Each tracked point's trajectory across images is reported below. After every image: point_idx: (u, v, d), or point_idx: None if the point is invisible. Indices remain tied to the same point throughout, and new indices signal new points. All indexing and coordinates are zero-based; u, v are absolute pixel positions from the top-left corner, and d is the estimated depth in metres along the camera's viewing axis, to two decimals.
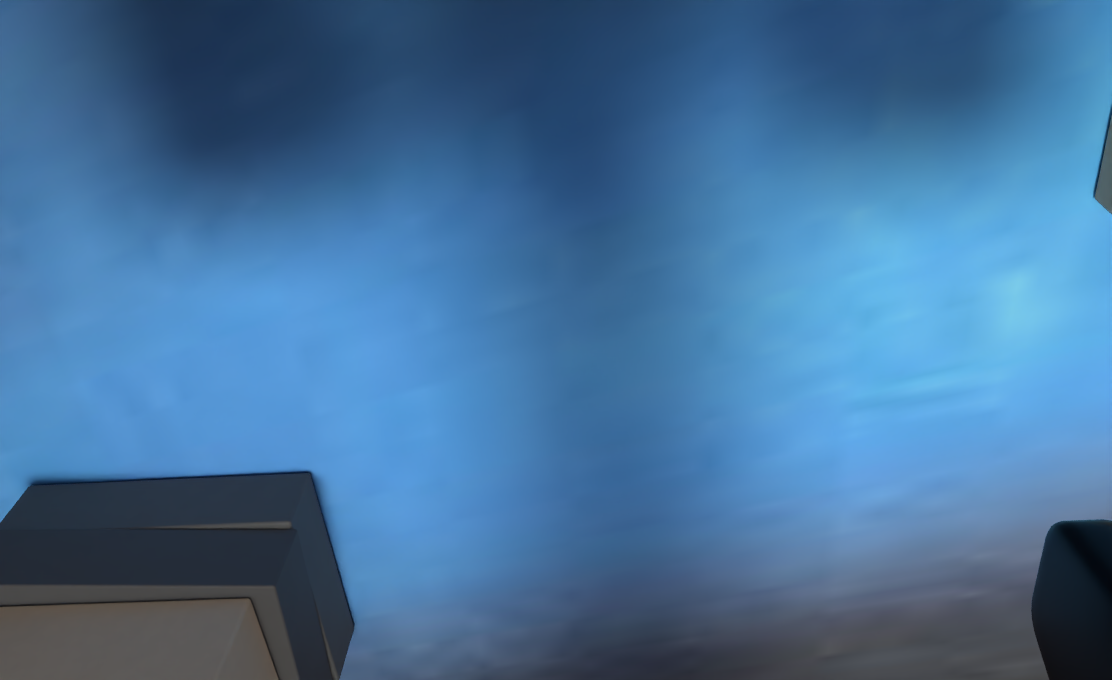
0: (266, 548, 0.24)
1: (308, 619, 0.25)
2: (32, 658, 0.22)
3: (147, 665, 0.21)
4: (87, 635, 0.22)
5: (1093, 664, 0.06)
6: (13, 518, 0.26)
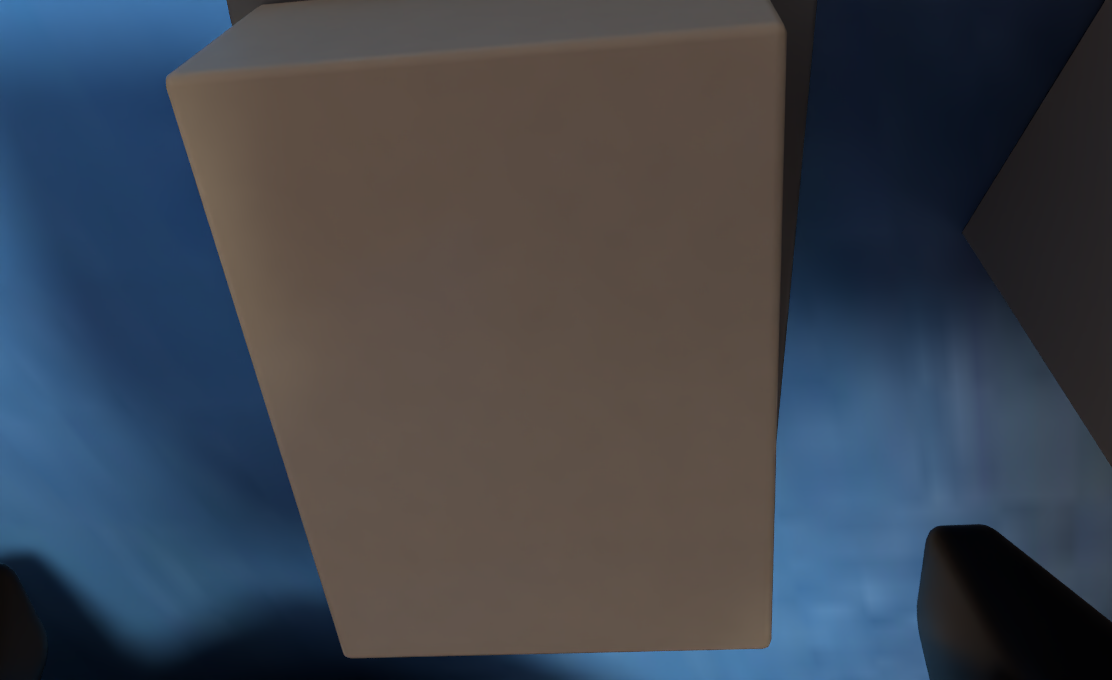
0: None
1: None
2: None
3: None
4: None
5: (960, 667, 0.07)
6: None
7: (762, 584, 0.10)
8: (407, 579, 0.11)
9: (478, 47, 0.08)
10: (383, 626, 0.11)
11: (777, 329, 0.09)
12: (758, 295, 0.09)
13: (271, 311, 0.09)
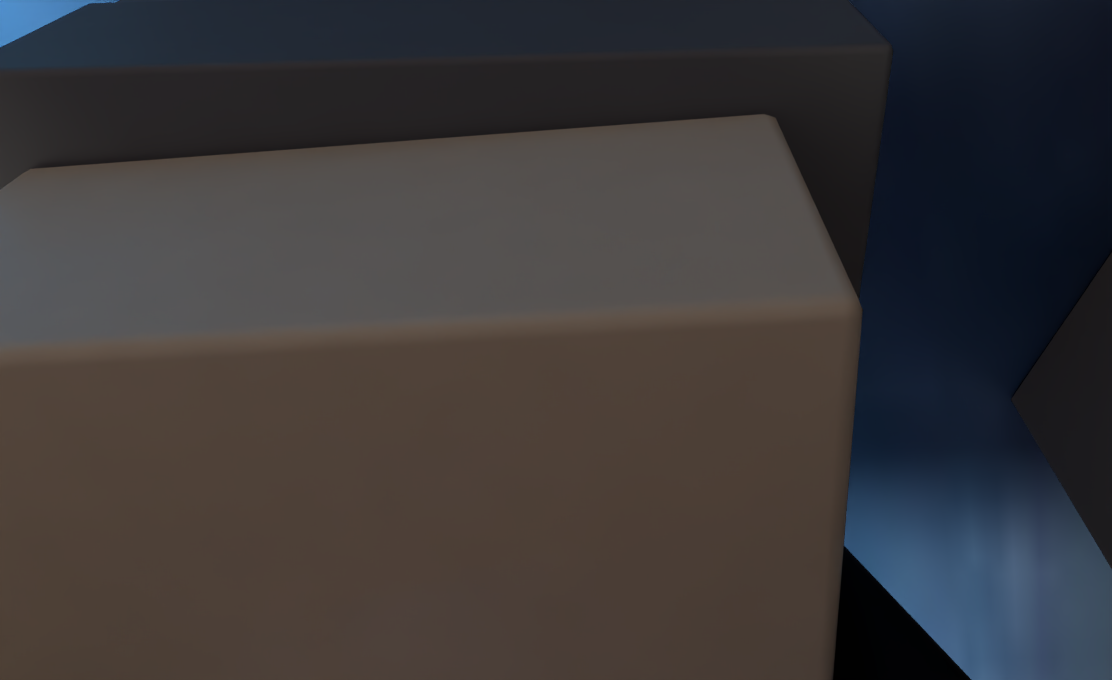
0: None
1: (380, 10, 0.07)
2: None
3: None
4: None
5: None
6: None
7: None
8: None
9: (306, 326, 0.04)
10: None
11: None
12: None
13: None
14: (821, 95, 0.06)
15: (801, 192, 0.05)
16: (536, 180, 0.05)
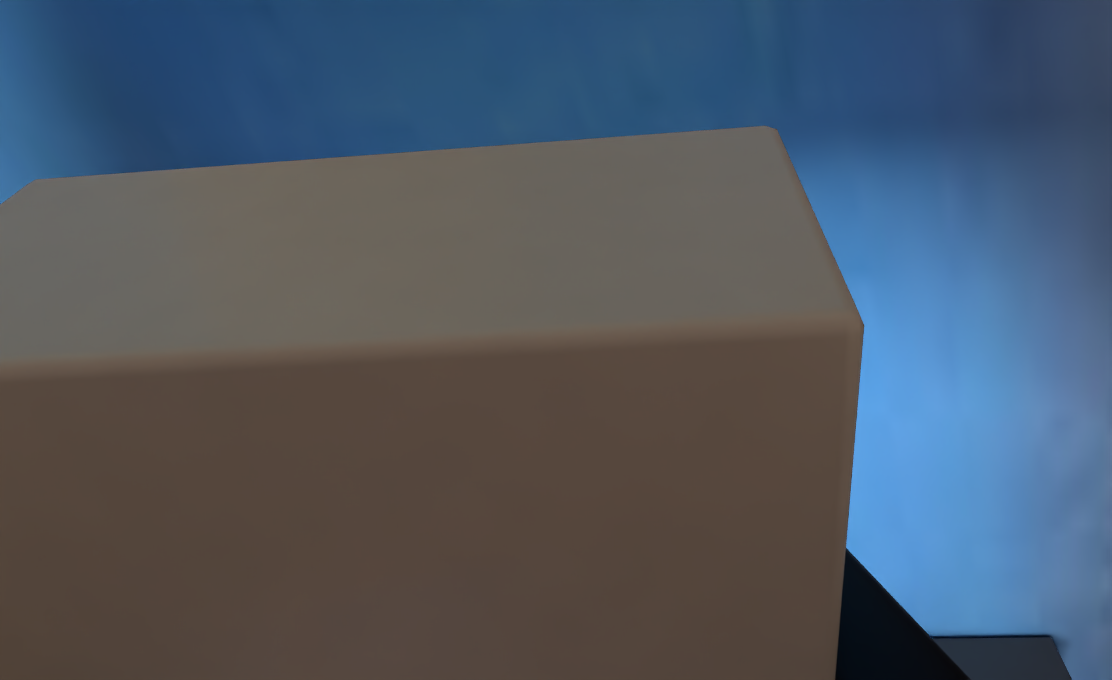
0: None
1: None
2: None
3: None
4: None
5: None
6: None
7: None
8: None
9: (313, 342, 0.04)
10: None
11: None
12: None
13: None
14: None
15: (803, 206, 0.05)
16: (538, 193, 0.05)
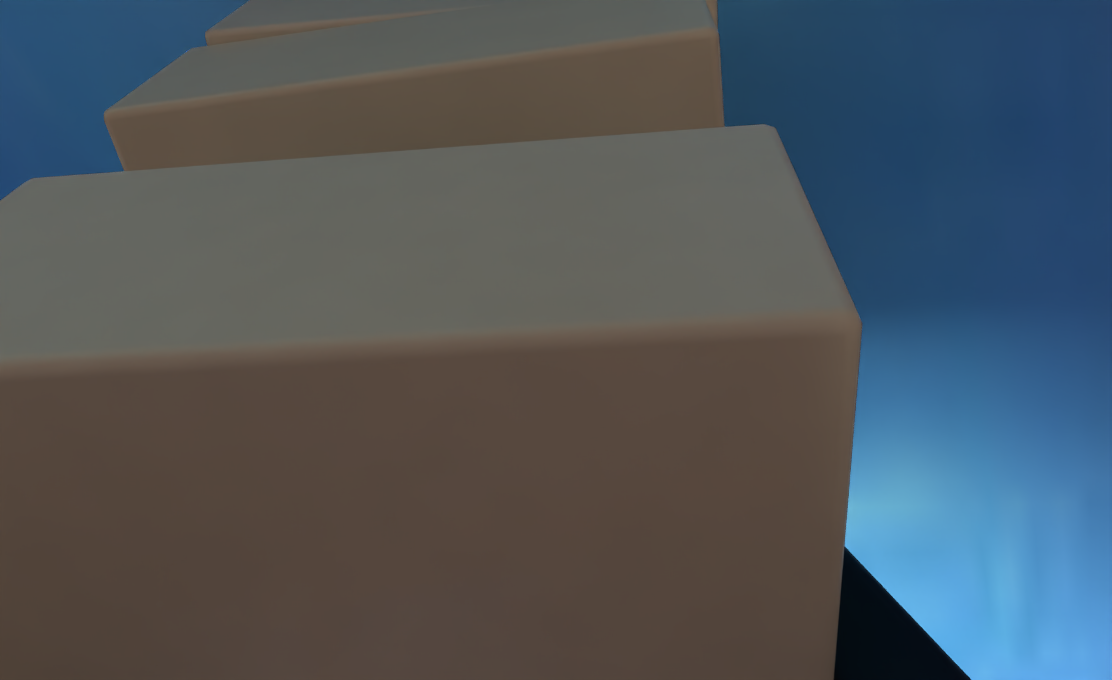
0: None
1: None
2: None
3: None
4: None
5: None
6: None
7: None
8: None
9: (309, 340, 0.04)
10: None
11: None
12: None
13: None
14: None
15: (801, 204, 0.05)
16: (536, 191, 0.05)
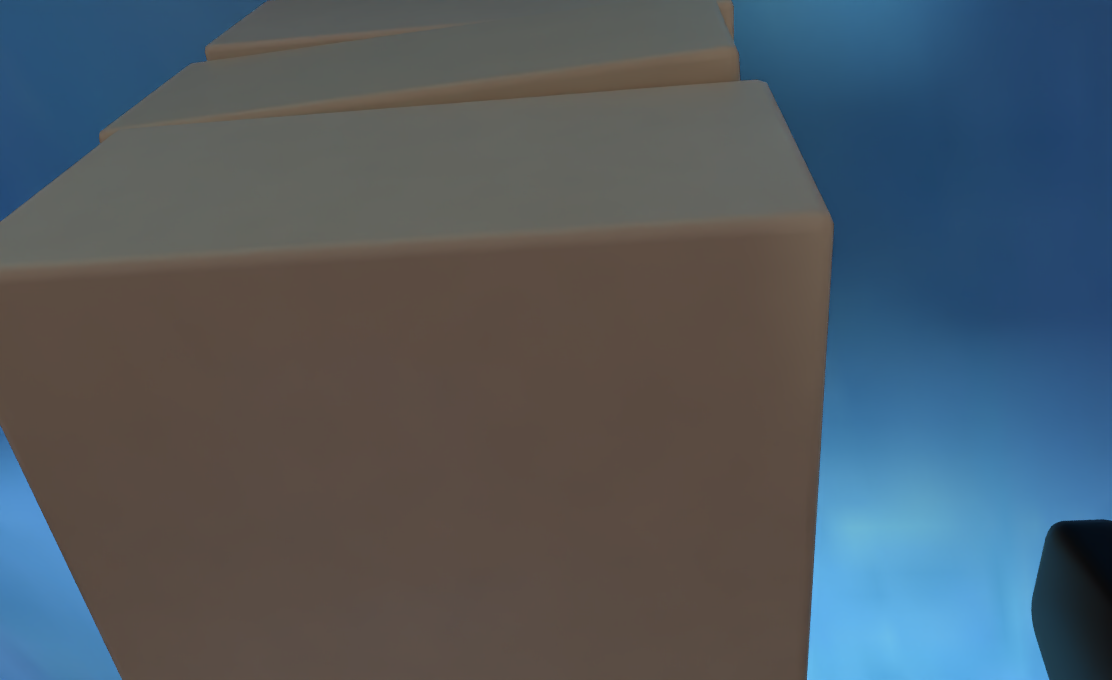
0: None
1: None
2: None
3: None
4: None
5: (1093, 664, 0.06)
6: None
7: None
8: None
9: (383, 239, 0.05)
10: None
11: (809, 594, 0.06)
12: (785, 556, 0.06)
13: (114, 565, 0.06)
14: None
15: (787, 138, 0.06)
16: (563, 133, 0.06)
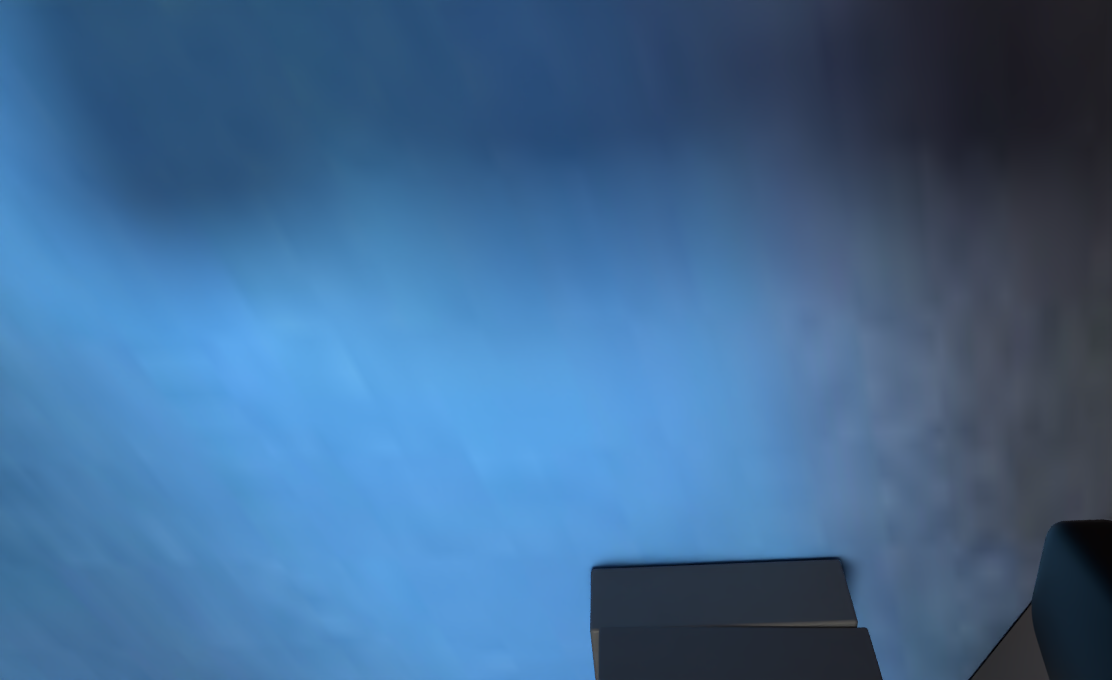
0: None
1: (715, 648, 0.21)
2: None
3: None
4: None
5: (1093, 663, 0.06)
6: None
7: None
8: None
9: None
10: None
11: None
12: None
13: None
14: None
15: None
16: None
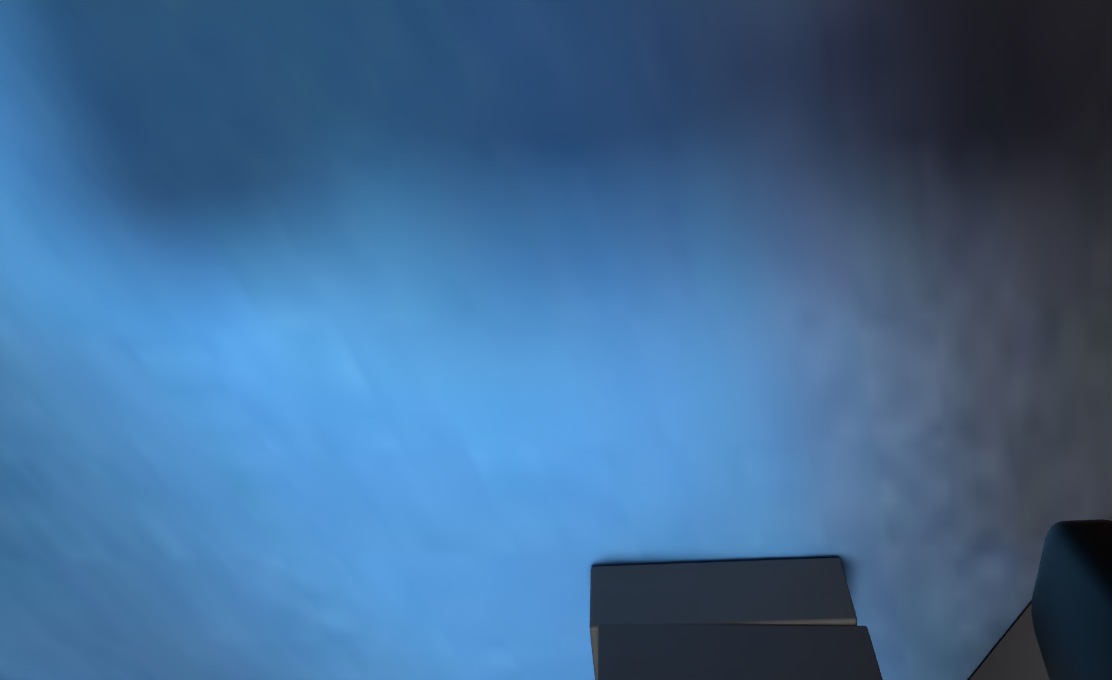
0: None
1: (714, 646, 0.21)
2: None
3: None
4: None
5: (1093, 664, 0.06)
6: None
7: None
8: None
9: None
10: None
11: None
12: None
13: None
14: None
15: None
16: None
